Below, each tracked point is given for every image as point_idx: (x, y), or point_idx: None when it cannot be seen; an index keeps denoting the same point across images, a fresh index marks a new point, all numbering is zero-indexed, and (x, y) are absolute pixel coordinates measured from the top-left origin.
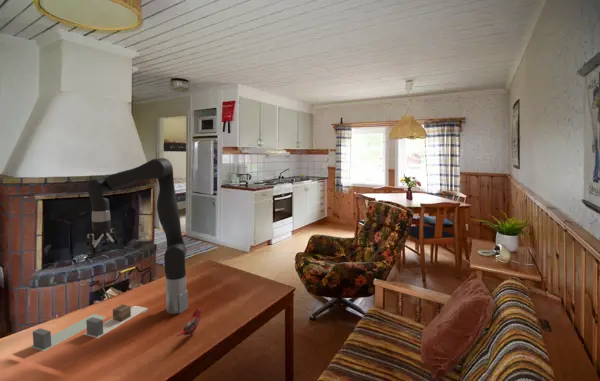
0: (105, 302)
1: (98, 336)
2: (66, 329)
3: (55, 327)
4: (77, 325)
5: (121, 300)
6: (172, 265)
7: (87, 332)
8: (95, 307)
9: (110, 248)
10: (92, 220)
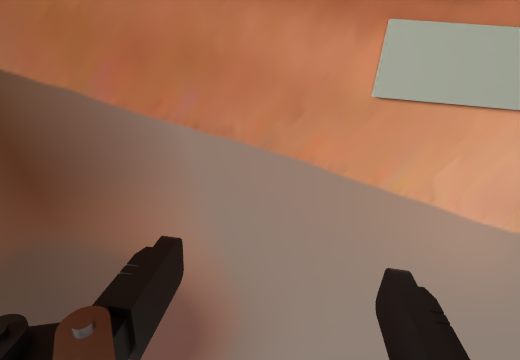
0: (270, 141)
1: None
2: (496, 96)
3: (458, 159)
4: (466, 81)
5: (239, 95)
6: None
7: None
8: (310, 145)
9: (176, 255)
10: None
